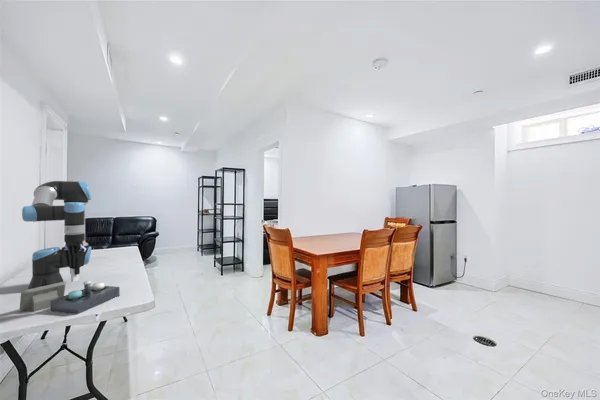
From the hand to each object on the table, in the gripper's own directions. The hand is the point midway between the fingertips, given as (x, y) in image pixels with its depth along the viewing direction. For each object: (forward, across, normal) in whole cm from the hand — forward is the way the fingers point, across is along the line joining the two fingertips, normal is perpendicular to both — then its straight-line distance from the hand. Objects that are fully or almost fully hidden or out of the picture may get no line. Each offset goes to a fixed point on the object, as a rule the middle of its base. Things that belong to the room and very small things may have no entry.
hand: (75, 280), depth 125 cm
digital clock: (+14, -17, -2) cm, 22 cm away
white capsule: (+9, 0, +6) cm, 10 cm away
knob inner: (+13, +1, +12) cm, 17 cm away
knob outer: (+13, +1, 0) cm, 13 cm away
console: (+14, +1, +6) cm, 15 cm away
